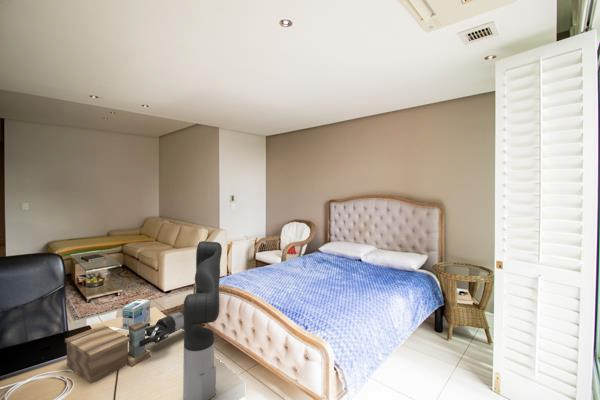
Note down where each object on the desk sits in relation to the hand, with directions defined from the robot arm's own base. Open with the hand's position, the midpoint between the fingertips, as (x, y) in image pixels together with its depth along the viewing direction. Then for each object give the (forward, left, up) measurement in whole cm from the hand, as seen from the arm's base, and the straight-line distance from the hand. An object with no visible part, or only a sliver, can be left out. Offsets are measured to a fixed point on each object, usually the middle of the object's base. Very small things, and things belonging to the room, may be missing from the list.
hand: (133, 341), depth 107 cm
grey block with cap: (0, -1, -8) cm, 8 cm away
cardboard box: (+7, +5, -7) cm, 11 cm away
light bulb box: (+26, -16, -8) cm, 32 cm away
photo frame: (+23, -4, -8) cm, 25 cm away
